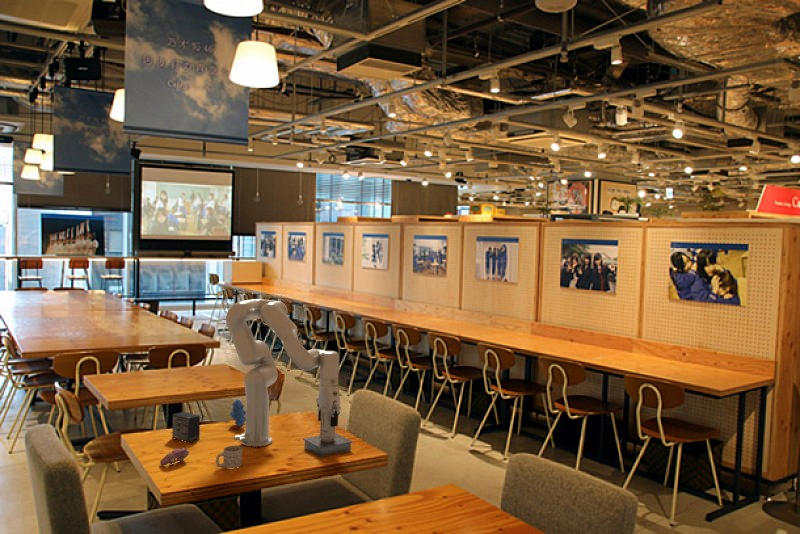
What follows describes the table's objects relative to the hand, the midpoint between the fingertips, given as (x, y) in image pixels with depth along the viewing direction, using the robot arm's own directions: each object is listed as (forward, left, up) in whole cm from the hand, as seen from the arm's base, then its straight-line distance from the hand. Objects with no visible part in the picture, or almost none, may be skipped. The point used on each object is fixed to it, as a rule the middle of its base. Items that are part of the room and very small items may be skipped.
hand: (327, 423), depth 260 cm
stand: (0, 0, -11) cm, 11 cm away
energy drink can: (0, 0, -7) cm, 7 cm away
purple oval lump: (-56, +17, -11) cm, 60 cm away
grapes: (-18, +50, -11) cm, 54 cm away
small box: (-43, +44, -11) cm, 62 cm away
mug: (-41, +3, -11) cm, 43 cm away
